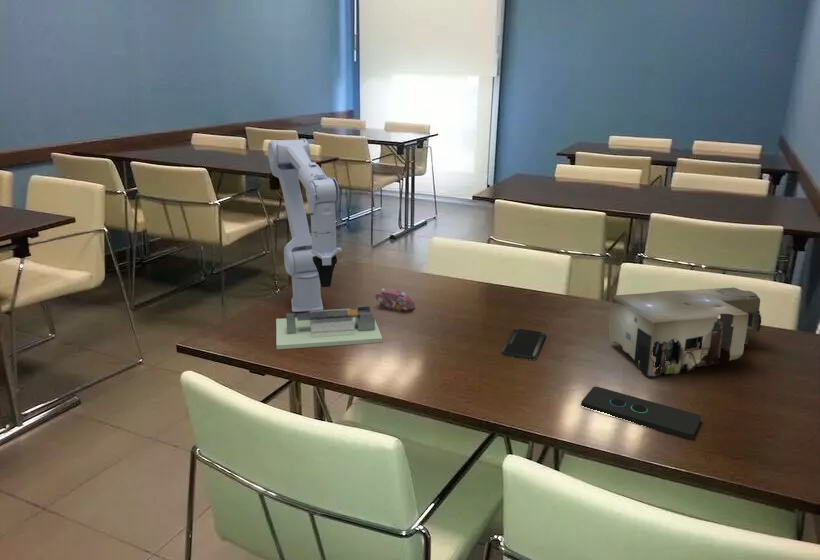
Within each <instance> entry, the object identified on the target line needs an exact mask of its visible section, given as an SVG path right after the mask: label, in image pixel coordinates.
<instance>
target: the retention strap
mask: <svg viewBox="0 0 820 560" xmlns="http://www.w3.org/2000/svg"><path fill="white" fill-rule="evenodd" d="M366 312H367V311H366V310H357V308H356V309H351V310H347V311H335V312H317V313H309V312H305V313H304V312H303V313H301V312H300V313H297V314H296V318H297V321H302V320H318V319H335V318H351V317H360V313H366Z"/></svg>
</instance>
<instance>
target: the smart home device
mask: <svg viewBox="0 0 820 560" xmlns="http://www.w3.org/2000/svg"><path fill="white" fill-rule="evenodd" d="M581 405H582V406H584V407H587V408H590V409H593V410H597V411H600V412H604V413H607V414H610V415H612V416H615V417H618V418H622V419H625V420H628V421H631V422H634V423H636V424H635V425H637V424H639V425H638V426H641V425H643V426H642V427H644V426H646V427H645V428H647V427H649V428H648V429H651V428H652V430H654V429H655V431H657V430H658V431H657V432H661V431H662V432H661V433H665V434H667V433H668V435H671V436H675V437H678V438H681V439H684V440H689V441H691V440H693V439H694V437H695V435H696V432H697V430H698V428H699V425H700V423H701V420H702V416H701V415H699V414H697V413H694V412H690V411H686V410H683V409H680V408H676V407H674V406H669V405H666V404H662V403H658V402H655V401H651V400H647V399H643V398H640V397H637V396H636V397H635V396H633V395H629V394H626V393H622V392H618V391H614V390H611V389H608V388H604V387H601V386H593V387H592V388H591V389H590V390H589V392H587V394H586V395H585V397H584V398H583V399H582V400H581V402H580V406H581ZM631 422H630V423H631ZM634 423H633V424H634Z"/></svg>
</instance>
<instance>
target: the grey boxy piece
mask: <svg viewBox="0 0 820 560" xmlns="http://www.w3.org/2000/svg"><path fill="white" fill-rule="evenodd" d="M760 306H761V299H760V297H759V296H758V294H756V293H755V292H754V291H750V290H746V289H745V290H744V289H739V288H737V287H723V288H722V287H721V288H702V289H701V288H700V289H699V288H698V289H684V290H682V289H681V290H663V291H654V292H644V293H643V292H642V293H632V294H631V293H629V294H616V295H613V296H612V302H610V306H609V317H608V328H607V329H608V336H609V340H610V342H612V343H613V344H616V343H618V344H620V345H621V348H622V351H623V352H625V353H626V354H628V355H629V356H630V358H632V360H633V361H634V362H636V363H637V362H638V363H637V366H638V368H637V370H638V371H639V370H640V371H641V372H642V373H643V374H644V376H646V377H647V378H651V377H654V378H655V377H656V376H660V375H661V374H662V373H664V375H669V374H670V375H677V374H680V373H681V372H682V371H683V372H685V373H688V372H690V371H694V370H696V369H695V368H696V367H708V366H718V365H719V363H720V360H719V358H725V359H726V358H727V357H723V355H722V354H721V352H722V351H721V350H723V351H726V352H728V353H729V354H725V355H727V356H729V359H728V361H729V362H731V361H732V360H733V361H734V360H737V359H739V358H741V357H742V356H743V354H744V349H745V346H744V344H747V345H748V344H749V337H750V334H749V333H750V332H757V333H758V332H760V331H761V330H760V329H761V324H762V314H761V310H760ZM718 318H719V319H718ZM698 342H700V346H699V349H698V350H689V351H688V350H686V349H691V348H696V347H697V343H698ZM678 343H679V345H678ZM654 345H655V346H654ZM721 347H722V348H723V349H720V348H721ZM653 349H654V351H653ZM652 352H653V356H655V357H656V362H655V366H654V361H653V360H652V358H651V355H652ZM665 356H666V357H665ZM665 358H666V360H665ZM673 358H674V359H673ZM665 361H669V362H670V364H668V365H667V364H666V366H665V363H666V362H665ZM659 365H660V366H659ZM653 367H655V368H657V367H659V368H658V369H656V371H655V372H654V373H653V372H652V370H653ZM661 367H662V369H661ZM641 372H640V373H641ZM642 373H641V374H642ZM643 374H642V375H643Z"/></svg>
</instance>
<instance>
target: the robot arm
mask: <svg viewBox="0 0 820 560" xmlns="http://www.w3.org/2000/svg"><path fill="white" fill-rule="evenodd" d="M267 157H268V161H269V163H268V164H269V166H270V170H271V174H272V176H274V177H275V178H278V180H279V184H280V186H281V187H280V188H281V191H282V196H283V200H284V201H283V202H284V206H285V212H286V216H287V220H288V225H289V231H290V234H291V235H290V236H291V239H290V240H289V242H287V244H285V246H284V249H283V256H284V257H283V259H284V260H283V263H284V267H285V272H286V273H287V274H288V275H289V276H291V281H292V282H291V285H292V286H291V288H292V298H291V299H290V301H291V311H292V312H291V313H297V312H298V313H299V312H300V313H301V312H309V311H316V310H324V306H323V300H322V297H321V296H322V295H321V288H330V287H331V286H332V285H331V284H332V280H333V273H334V271H335V270H334V269H335V267H336V265H337V263H338V259H337V253H342V250H343V249H342V247H337V224H336V223H337V217H336V216H337V215H336V204H337V203H338V202H339V200H340V199H339V198H340V189H339V184H338V182H337V180H336V178H335V177H328V176H327V175H326V174H325V172H324V171H323V170H322V168H321V167H320V165H319V164H317V163H316V162H312V160H311V146H310V143H309V141H307V139H306V138H302V139H282V140H281V139H280V140H279V139H278V140H274V139H271V140H270V141H269V142H268V146H267ZM300 183H301V184H302V186H303V187H304V190H305V196H306V200H307V207H308V212H309V213H310V227H309V222H308V217H307V214H306V209H305V204H304V199H303V194H302V189H301V185H300ZM310 229H311V230H310ZM310 231H311V232H310Z"/></svg>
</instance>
